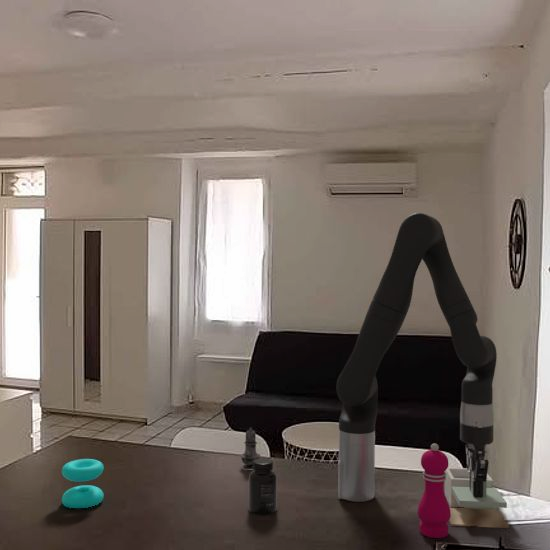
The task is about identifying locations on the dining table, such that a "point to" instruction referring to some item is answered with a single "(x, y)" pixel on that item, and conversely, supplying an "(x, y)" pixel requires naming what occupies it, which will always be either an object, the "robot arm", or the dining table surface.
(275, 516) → the dining table surface
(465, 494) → the lid
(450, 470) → the storage box
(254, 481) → the supplement bottle
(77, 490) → the donuts
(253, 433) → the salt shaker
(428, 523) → the pepper mill
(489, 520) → the cork mat
